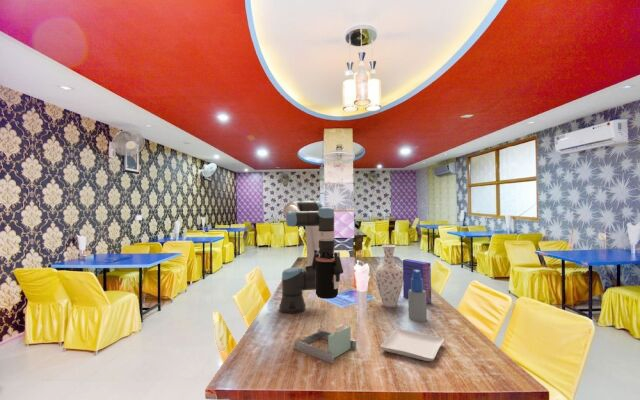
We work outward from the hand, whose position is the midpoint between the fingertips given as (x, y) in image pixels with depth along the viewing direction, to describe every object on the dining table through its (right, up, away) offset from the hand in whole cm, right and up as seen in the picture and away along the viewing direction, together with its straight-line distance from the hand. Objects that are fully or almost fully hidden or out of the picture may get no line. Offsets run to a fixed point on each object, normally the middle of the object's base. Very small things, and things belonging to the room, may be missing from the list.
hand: (326, 286), depth 152 cm
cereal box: (+57, -21, +47) cm, 77 cm away
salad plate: (+35, -21, -20) cm, 46 cm away
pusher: (+5, -20, -24) cm, 32 cm away
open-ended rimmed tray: (-1, -21, -19) cm, 28 cm away
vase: (+38, -21, +37) cm, 57 cm away
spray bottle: (+47, -21, +14) cm, 54 cm away
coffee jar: (0, -5, 0) cm, 5 cm away
